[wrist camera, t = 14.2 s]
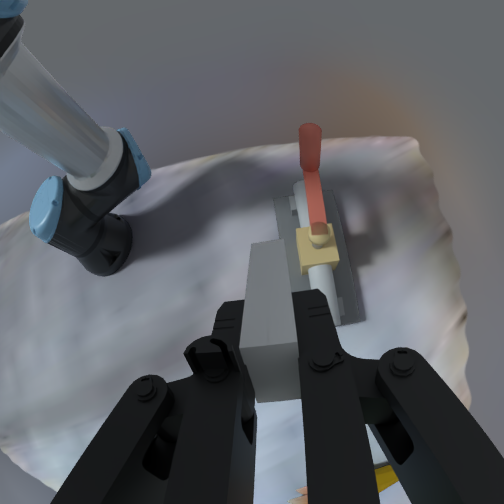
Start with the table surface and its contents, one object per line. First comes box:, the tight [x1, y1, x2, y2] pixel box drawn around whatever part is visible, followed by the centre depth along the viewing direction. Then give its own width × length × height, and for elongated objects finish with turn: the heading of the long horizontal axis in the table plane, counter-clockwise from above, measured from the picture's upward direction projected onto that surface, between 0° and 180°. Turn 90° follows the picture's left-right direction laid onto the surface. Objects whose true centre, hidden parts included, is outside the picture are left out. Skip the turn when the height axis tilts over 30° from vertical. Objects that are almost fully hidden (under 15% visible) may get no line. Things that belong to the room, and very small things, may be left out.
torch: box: [287, 465, 399, 504], centre depth 31 cm, size 8×8×25 cm
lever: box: [299, 123, 331, 246], centre depth 37 cm, size 15×3×9 cm, turn 1°
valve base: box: [273, 180, 360, 327], centre depth 45 cm, size 12×26×11 cm, turn 6°
